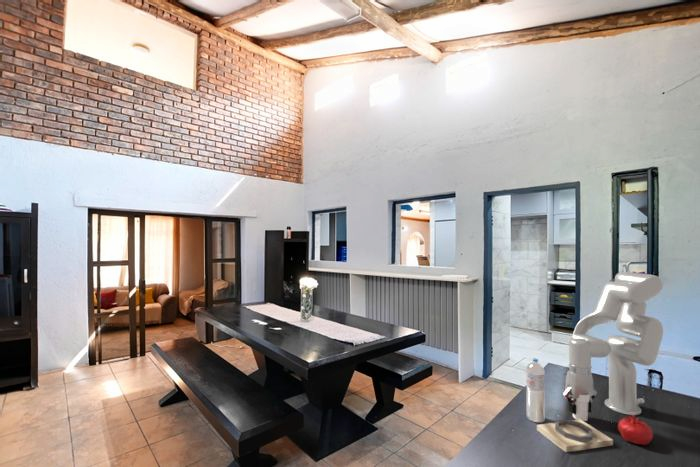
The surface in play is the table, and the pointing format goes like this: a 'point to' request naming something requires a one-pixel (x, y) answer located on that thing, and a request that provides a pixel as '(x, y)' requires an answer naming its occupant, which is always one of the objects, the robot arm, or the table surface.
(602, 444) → the seat board
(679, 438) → the table surface
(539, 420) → the water bottle
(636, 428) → the pomegranate
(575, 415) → the cup
